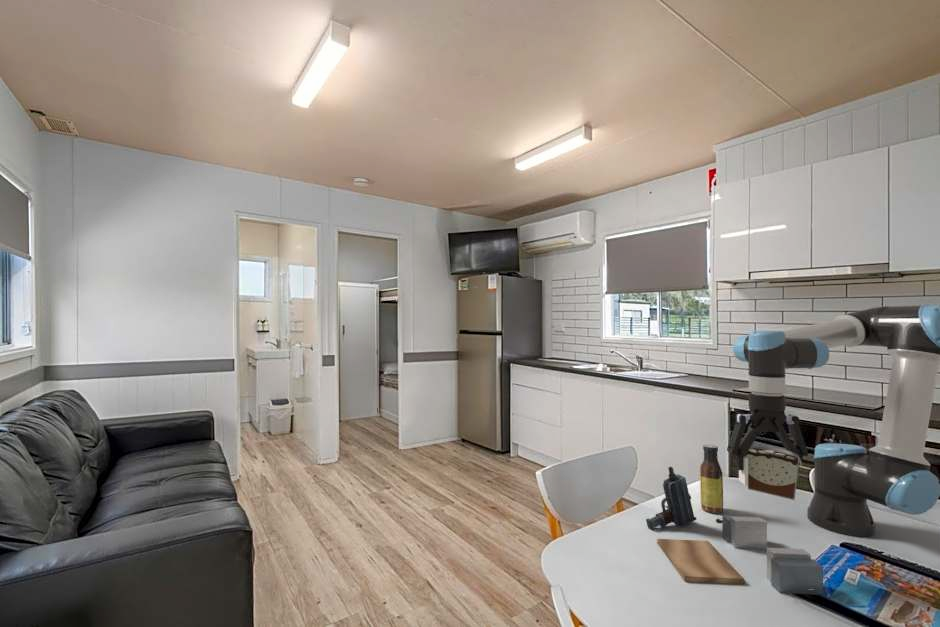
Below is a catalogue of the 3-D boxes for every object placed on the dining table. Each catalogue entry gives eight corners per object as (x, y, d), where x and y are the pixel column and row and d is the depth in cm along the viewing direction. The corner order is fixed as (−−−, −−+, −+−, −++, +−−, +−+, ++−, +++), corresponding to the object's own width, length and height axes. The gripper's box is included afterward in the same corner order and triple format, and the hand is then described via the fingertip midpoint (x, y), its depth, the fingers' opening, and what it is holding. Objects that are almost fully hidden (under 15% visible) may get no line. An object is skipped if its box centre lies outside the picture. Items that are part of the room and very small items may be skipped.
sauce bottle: (727, 514, 134) (727, 449, 134) (707, 514, 134) (707, 449, 134) (715, 505, 140) (715, 443, 141) (696, 505, 140) (696, 443, 141)
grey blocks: (748, 531, 123) (748, 506, 123) (823, 594, 95) (823, 562, 95) (715, 530, 124) (714, 505, 124) (779, 592, 95) (779, 560, 95)
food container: (806, 494, 105) (806, 452, 105) (802, 502, 101) (802, 458, 101) (747, 481, 114) (747, 442, 114) (741, 487, 109) (740, 447, 110)
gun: (635, 479, 125) (677, 461, 129) (648, 535, 126) (690, 515, 130) (641, 482, 122) (684, 464, 126) (655, 539, 123) (697, 519, 127)
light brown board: (707, 545, 115) (707, 540, 115) (744, 584, 98) (744, 578, 98) (657, 543, 116) (657, 538, 116) (684, 581, 99) (684, 576, 99)
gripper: (804, 391, 111) (805, 479, 111) (710, 390, 112) (711, 477, 112) (827, 396, 103) (827, 490, 103) (726, 395, 105) (726, 488, 105)
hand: (767, 483), depth 108 cm, fingers closed on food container, 10 cm apart
